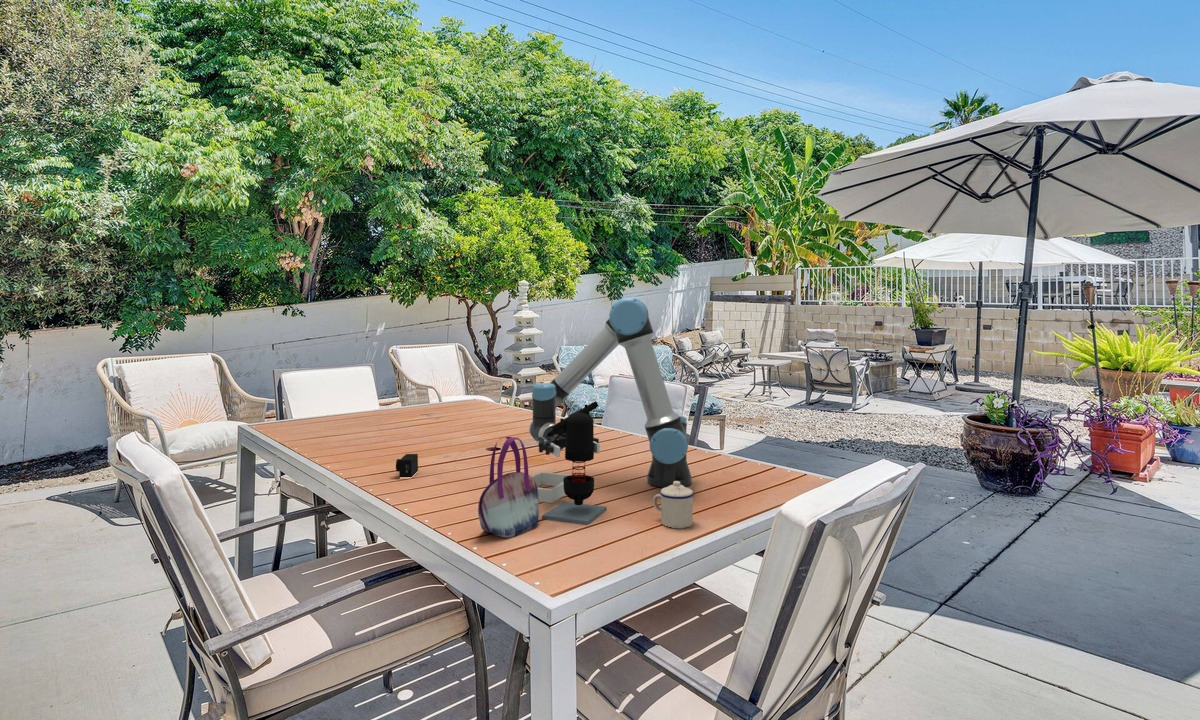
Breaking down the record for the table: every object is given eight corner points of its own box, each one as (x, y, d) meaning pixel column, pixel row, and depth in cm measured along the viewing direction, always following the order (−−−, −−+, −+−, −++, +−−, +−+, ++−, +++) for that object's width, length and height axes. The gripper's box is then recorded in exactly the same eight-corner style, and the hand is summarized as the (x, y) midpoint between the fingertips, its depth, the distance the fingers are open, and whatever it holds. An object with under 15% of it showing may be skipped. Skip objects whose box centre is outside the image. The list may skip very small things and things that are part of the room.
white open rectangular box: (577, 487, 206) (577, 475, 206) (552, 503, 189) (552, 490, 189) (540, 483, 212) (540, 471, 211) (512, 498, 194) (512, 485, 194)
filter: (595, 499, 183) (596, 398, 181) (600, 508, 174) (601, 402, 172) (549, 500, 181) (550, 399, 179) (551, 510, 172) (552, 403, 170)
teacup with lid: (699, 522, 170) (699, 480, 169) (682, 531, 163) (682, 488, 162) (662, 514, 177) (662, 474, 177) (644, 522, 170) (644, 481, 169)
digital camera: (403, 472, 229) (402, 453, 228) (418, 472, 229) (417, 453, 229) (395, 479, 218) (395, 460, 218) (411, 479, 219) (411, 459, 218)
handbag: (524, 515, 177) (523, 429, 175) (551, 522, 171) (550, 432, 169) (467, 537, 160) (465, 441, 158) (494, 545, 154) (492, 446, 152)
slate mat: (606, 509, 182) (606, 506, 182) (587, 524, 169) (587, 521, 169) (563, 504, 187) (563, 501, 187) (542, 518, 174) (541, 515, 174)
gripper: (588, 445, 198) (617, 459, 178) (517, 451, 189) (538, 467, 169) (588, 422, 197) (617, 434, 177) (517, 427, 188) (538, 440, 168)
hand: (579, 450), depth 173 cm, fingers closed on filter, 11 cm apart
